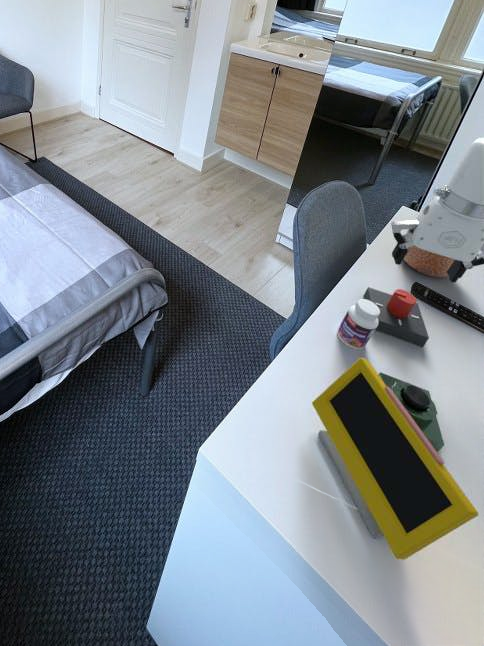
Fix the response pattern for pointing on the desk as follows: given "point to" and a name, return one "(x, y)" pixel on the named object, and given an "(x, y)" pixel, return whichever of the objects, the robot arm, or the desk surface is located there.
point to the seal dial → (401, 303)
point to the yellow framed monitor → (388, 463)
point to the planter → (427, 261)
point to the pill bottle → (359, 324)
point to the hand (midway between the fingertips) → (422, 268)
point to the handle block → (398, 320)
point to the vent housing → (418, 412)
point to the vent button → (415, 398)
